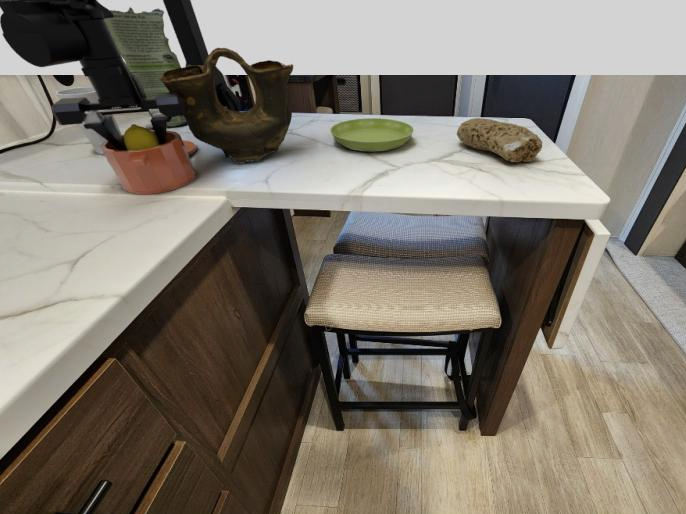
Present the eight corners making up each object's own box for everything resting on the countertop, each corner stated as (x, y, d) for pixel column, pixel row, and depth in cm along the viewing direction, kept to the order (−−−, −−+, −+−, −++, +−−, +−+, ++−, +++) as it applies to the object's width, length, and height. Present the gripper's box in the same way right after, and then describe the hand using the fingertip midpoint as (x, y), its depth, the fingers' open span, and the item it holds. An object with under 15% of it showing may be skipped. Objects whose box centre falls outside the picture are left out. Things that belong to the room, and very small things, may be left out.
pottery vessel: (301, 141, 83) (283, 43, 70) (312, 155, 76) (295, 48, 63) (193, 156, 75) (149, 47, 62) (194, 173, 68) (144, 54, 55)
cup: (112, 156, 75) (77, 95, 66) (83, 153, 76) (45, 93, 67) (139, 145, 80) (110, 87, 72) (111, 142, 81) (80, 86, 73)
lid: (198, 142, 82) (188, 115, 78) (195, 160, 73) (183, 131, 69) (136, 148, 79) (122, 120, 74) (125, 168, 69) (108, 138, 65)
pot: (198, 160, 73) (183, 124, 68) (193, 194, 61) (174, 152, 56) (133, 168, 70) (112, 130, 65) (114, 205, 57) (86, 161, 52)
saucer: (424, 152, 79) (425, 137, 76) (338, 160, 74) (336, 145, 72) (400, 127, 93) (400, 115, 91) (327, 133, 89) (325, 120, 87)
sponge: (541, 166, 76) (494, 124, 86) (551, 133, 69) (500, 92, 80) (491, 184, 74) (450, 139, 84) (497, 152, 67) (451, 108, 78)
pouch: (144, 127, 91) (86, 7, 74) (171, 116, 100) (125, 6, 83) (181, 129, 90) (132, 7, 73) (206, 118, 99) (166, 6, 82)
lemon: (164, 161, 67) (143, 118, 61) (176, 168, 64) (156, 124, 59) (134, 169, 63) (109, 124, 58) (146, 177, 61) (121, 130, 55)
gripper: (171, 49, 60) (205, 140, 70) (46, 53, 55) (103, 150, 65) (164, 57, 52) (203, 157, 63) (18, 62, 47) (87, 171, 58)
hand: (150, 158), depth 62 cm, fingers closed on lemon, 5 cm apart
